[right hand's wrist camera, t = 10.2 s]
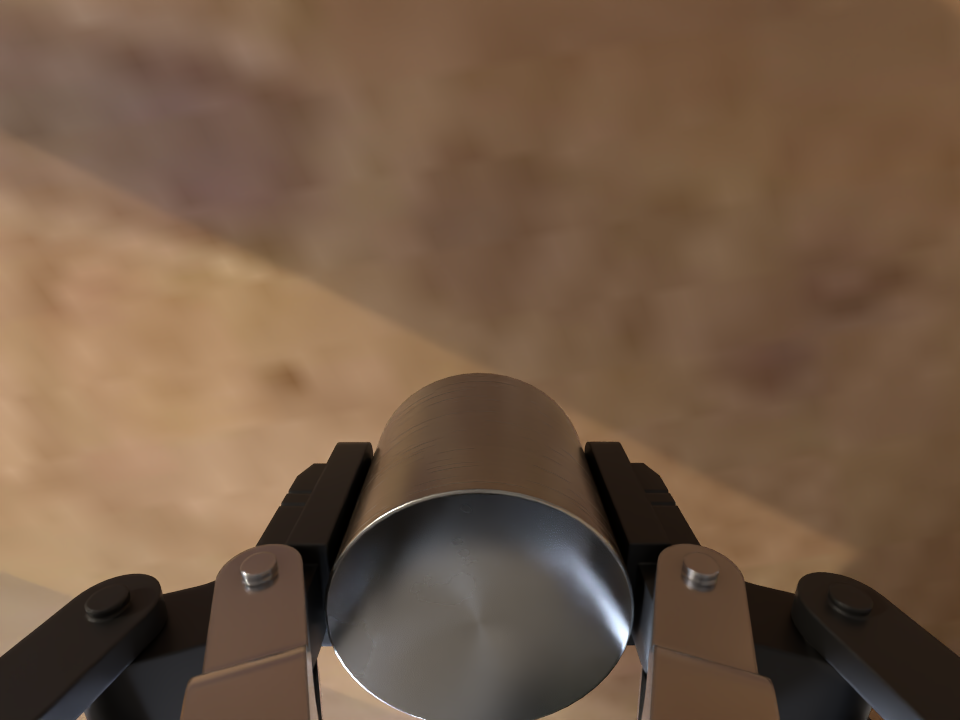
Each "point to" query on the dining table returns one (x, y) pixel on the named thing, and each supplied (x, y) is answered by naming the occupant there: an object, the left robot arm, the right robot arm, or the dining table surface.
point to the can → (479, 560)
